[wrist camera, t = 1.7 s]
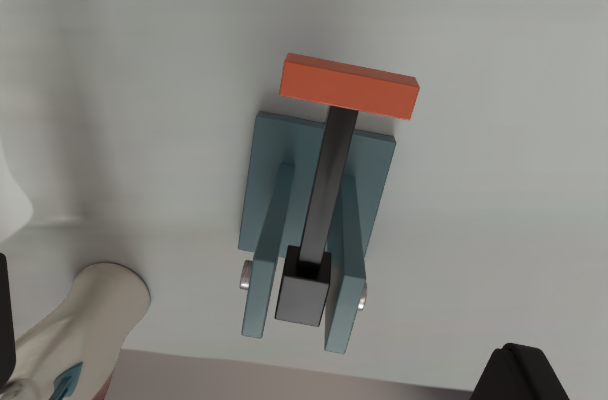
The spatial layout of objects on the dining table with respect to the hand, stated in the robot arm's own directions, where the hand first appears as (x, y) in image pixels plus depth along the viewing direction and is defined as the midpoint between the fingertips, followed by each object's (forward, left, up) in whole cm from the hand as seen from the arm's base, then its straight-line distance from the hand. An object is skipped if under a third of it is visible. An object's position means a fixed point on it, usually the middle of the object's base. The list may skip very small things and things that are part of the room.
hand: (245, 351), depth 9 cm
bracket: (+7, +2, -23) cm, 24 cm away
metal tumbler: (+19, -12, -23) cm, 32 cm away
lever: (+2, +2, -13) cm, 13 cm away
